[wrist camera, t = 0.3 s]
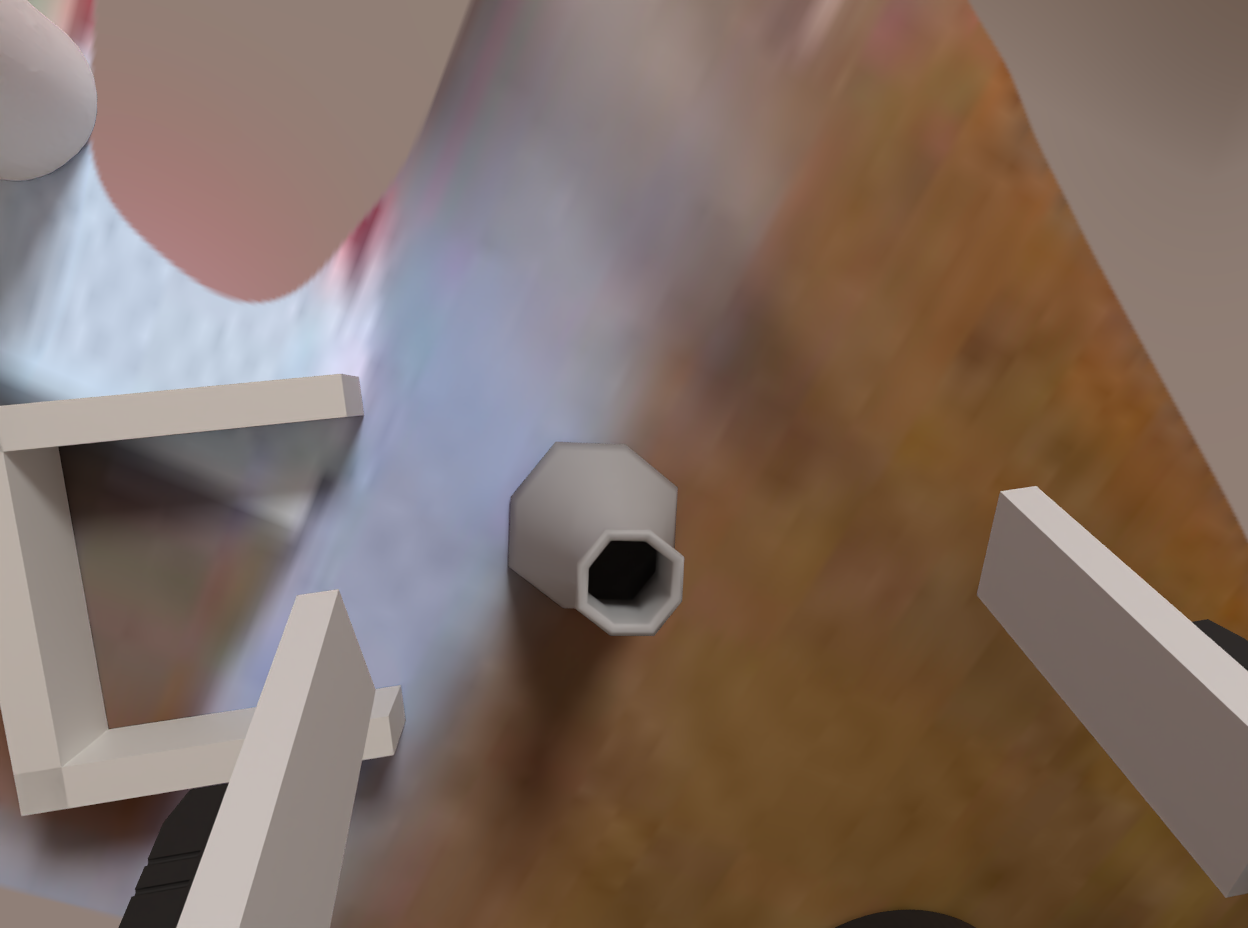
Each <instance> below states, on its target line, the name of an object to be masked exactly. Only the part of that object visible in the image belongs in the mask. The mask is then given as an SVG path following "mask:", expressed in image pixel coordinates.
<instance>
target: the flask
mask: <svg viewBox="0 0 1248 928" xmlns="http://www.w3.org/2000/svg"><path fill="white" fill-rule="evenodd" d="M677 491H678V487H676V486H675V485H674V484H673V483H672V482H670V481H669V480H668V479H667V478H665V477H664V476H663V475H662V474H661V473H659V472H658V471H657V470H656V469H655V468H653V467H652V466H651V465H650V464H648V463H647V462H646V461H645V460H644V459H642V458H641V457H640V456H639V455H638V454H636V453H635V452H634V451H633V450H631V449H630V448H629V447H628V446H627V445H625V444H599V443H573V442H555V443H554V444H553V446H552V447H551V448H550V449H549V451H548V452H547V453H546V454H545V455H544V457H543V458H542V459H541V460H540V462H539V463H538V464H537V465H536V466H535V468H534V469H533V470H532V471H531V473H530V474H529V475H528V476H527V478H526V479H525V480H524V481H523V482H522V484H521V485H520V486H519V487H518V489H517V490H516V491H515V492H514V494H513V495H512V496H511V506H510V536H509V566H508V567H510V568H511V569H512V570H514V571H515V572H516V573H517V574H519V575H520V576H521V577H523V578H524V579H525V580H527V581H528V582H529V583H531V584H532V585H533V586H535V587H536V588H537V589H539V590H540V591H541V592H542V593H544V594H545V595H546V596H548V597H549V598H550V599H552V600H553V601H554V602H556V603H557V604H558V605H560V606H561V607H562V608H576V610H578V611H579V612H580V613H581V614H583V615H584V616H585V617H587V618H588V619H589V620H591V621H592V622H593V623H595V624H596V625H597V626H598V627H600V628H601V629H602V630H604V631H605V632H606V633H608V634H609V635H610V636H654V635H655V634H656V633H657V632H658V630H659V629H660V628H661V627H662V625H663V624H664V623H665V622H666V620H667V619H668V618H669V617H670V615H671V614H672V613H673V612H674V610H675V609H676V608H677V607H678V605H679V604H680V603H681V602H682V590H683V571H684V557H683V556H682V555H681V554H680V553H679V552H677V551H676V550H675V530H676V511H677Z"/></svg>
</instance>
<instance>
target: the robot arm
mask: <svg viewBox="0 0 1248 928" xmlns="http://www.w3.org/2000/svg"><path fill="white" fill-rule="evenodd" d="M977 596H978V597H979V598H980V599H981V601H982V602H983V603H984V604H985V605H986V607H987V608H988V609H989V610H990V612H991V613H992V614H993V615H994V616H995V618H996V619H997V620H998V621H999V622H1000V624H1001V625H1002V626H1003V627H1004V629H1005V630H1006V631H1007V632H1008V633H1009V635H1010V636H1011V637H1012V638H1013V640H1014V641H1015V642H1016V643H1017V644H1018V646H1019V647H1020V648H1021V649H1022V650H1023V652H1024V653H1025V654H1026V655H1027V657H1028V658H1029V659H1030V660H1031V661H1032V663H1033V664H1034V665H1035V666H1036V667H1037V669H1038V670H1039V671H1040V672H1041V674H1042V675H1043V676H1044V677H1045V678H1046V680H1047V681H1048V682H1049V683H1050V684H1051V686H1052V687H1053V688H1054V689H1055V691H1056V692H1057V693H1058V694H1059V695H1060V697H1061V698H1062V699H1063V700H1064V701H1065V703H1066V704H1067V705H1068V706H1069V708H1070V709H1071V710H1072V711H1073V712H1074V714H1075V715H1076V716H1077V717H1078V718H1079V720H1080V721H1081V722H1082V723H1083V725H1084V726H1085V727H1086V728H1087V729H1088V731H1089V732H1090V733H1091V734H1092V735H1093V737H1094V738H1095V739H1096V740H1097V742H1098V743H1099V744H1100V745H1101V746H1102V748H1103V749H1104V750H1105V751H1106V752H1107V754H1108V755H1109V756H1110V757H1111V759H1112V760H1113V761H1114V762H1115V763H1116V765H1117V766H1118V767H1119V768H1120V769H1121V771H1122V772H1123V773H1124V774H1125V776H1126V777H1127V778H1128V779H1129V780H1130V782H1131V783H1132V784H1133V785H1134V786H1135V788H1136V789H1137V790H1138V791H1139V793H1140V794H1141V795H1142V796H1143V797H1144V799H1145V800H1146V801H1147V802H1148V804H1149V805H1150V806H1151V807H1152V808H1153V810H1154V811H1155V812H1156V813H1157V814H1158V816H1159V817H1160V818H1161V819H1162V821H1163V822H1164V823H1165V824H1166V825H1167V827H1168V828H1169V829H1170V830H1171V831H1172V833H1173V834H1174V835H1175V836H1176V838H1177V839H1178V840H1179V841H1180V842H1181V844H1182V845H1183V846H1184V847H1185V848H1186V850H1187V851H1188V852H1189V853H1190V855H1191V856H1192V857H1193V858H1194V859H1195V861H1196V862H1197V863H1198V864H1199V865H1200V867H1201V868H1202V869H1203V870H1204V872H1205V873H1206V874H1207V875H1208V876H1209V878H1210V879H1211V880H1212V881H1213V882H1214V884H1215V885H1216V886H1217V887H1218V889H1219V890H1220V891H1221V892H1222V893H1223V895H1224V896H1225V897H1231V896H1236V895H1241V894H1246V893H1248V641H1247V640H1246V639H1244V638H1242V637H1240V636H1238V635H1237V634H1235V633H1233V632H1231V631H1229V630H1227V629H1225V628H1223V627H1221V626H1220V625H1218V624H1216V623H1214V622H1212V621H1210V620H1208V619H1207V620H1201V621H1195V622H1191V621H1190V620H1189V619H1188V618H1186V617H1185V616H1184V615H1183V614H1182V613H1181V612H1180V611H1178V610H1177V609H1176V608H1175V607H1174V606H1173V605H1172V604H1170V603H1169V602H1168V601H1167V600H1166V599H1165V598H1164V597H1162V596H1161V595H1160V594H1159V593H1158V592H1157V591H1155V590H1154V589H1153V588H1152V587H1151V586H1150V585H1149V584H1147V583H1146V582H1145V581H1144V580H1143V579H1142V578H1141V577H1139V576H1138V575H1137V574H1136V573H1135V572H1134V571H1133V570H1131V569H1130V568H1129V567H1128V566H1127V565H1126V564H1125V563H1123V562H1122V561H1121V560H1120V559H1119V558H1118V557H1117V556H1115V555H1114V554H1113V553H1112V552H1111V551H1110V550H1109V549H1107V548H1106V547H1105V546H1104V545H1103V544H1102V543H1101V542H1099V541H1098V540H1097V539H1096V538H1095V537H1094V536H1093V535H1091V534H1090V533H1089V532H1088V531H1087V530H1086V529H1085V528H1083V527H1082V526H1081V525H1080V524H1079V523H1078V522H1077V521H1075V520H1074V519H1073V518H1072V517H1071V516H1070V515H1069V514H1067V513H1066V512H1065V511H1064V510H1063V509H1062V508H1061V507H1059V506H1058V505H1057V504H1056V503H1055V502H1054V501H1053V500H1051V499H1050V498H1049V497H1048V496H1047V495H1046V494H1045V493H1043V492H1042V491H1041V490H1040V489H1039V488H1038V487H1037V486H1034V487H1027V488H1020V489H1014V490H1007V491H1000V495H999V499H998V504H997V508H996V513H995V517H994V521H993V526H992V530H991V535H990V539H989V543H988V548H987V552H986V557H985V561H984V565H983V570H982V574H981V579H980V583H979V587H978V592H977ZM375 691H376V690H375V687H374V684H373V682H372V679H371V676H370V673H369V671H368V668H367V665H366V663H365V660H364V657H363V654H362V652H361V649H360V646H359V644H358V641H357V638H356V635H355V633H354V630H353V627H352V624H351V622H350V619H349V616H348V614H347V611H346V608H345V605H344V603H343V600H342V597H341V595H340V592H339V589H337V590H330V591H324V592H317V593H310V594H303V595H297V597H296V600H295V602H294V605H293V608H292V611H291V613H290V616H289V619H288V622H287V624H286V627H285V630H284V633H283V635H282V638H281V641H280V644H279V646H278V649H277V652H276V655H275V657H274V660H273V663H272V666H271V668H270V671H269V674H268V677H267V679H266V682H265V685H264V688H263V690H262V693H261V696H260V699H259V701H258V704H257V707H256V710H255V712H254V715H253V718H252V721H251V723H250V726H249V729H248V732H247V734H246V737H245V740H244V743H243V746H242V748H241V751H240V754H239V757H238V759H237V762H236V765H235V768H234V770H233V773H232V776H231V779H230V781H229V783H228V784H222V785H216V786H210V787H204V788H198V789H192V790H190V791H189V792H188V793H187V795H186V796H185V797H184V798H183V799H182V801H181V802H180V803H179V804H178V806H177V807H176V808H175V809H174V811H173V812H172V813H171V814H170V815H169V817H168V818H167V819H166V820H165V822H164V823H163V825H162V827H161V829H160V832H159V834H158V837H157V839H156V841H155V844H154V846H153V848H152V851H151V853H150V855H149V858H148V865H147V866H145V867H144V869H143V872H142V874H141V876H140V879H139V881H138V883H137V886H136V888H135V890H136V893H135V896H133V897H131V900H130V902H129V904H128V907H127V909H126V911H125V914H124V916H123V919H122V921H121V923H120V926H119V928H330V924H331V919H332V913H333V908H334V903H335V898H336V893H337V888H338V882H339V877H340V872H341V867H342V862H343V857H344V851H345V846H346V841H347V836H348V831H349V826H350V820H351V815H352V810H353V805H354V800H355V795H356V789H357V784H358V779H359V774H360V769H361V764H362V758H363V753H364V748H365V743H366V738H367V733H368V728H369V722H370V717H371V712H372V707H373V702H374V697H375ZM836 928H975V927H974V926H972V925H970V924H968V923H966V922H964V921H962V920H959V919H957V918H954V917H951V916H948V915H945V914H940V913H936V912H930V911H923V910H895V911H886V912H880V913H875V914H871V915H867V916H864V917H861V918H858V919H854V920H852V921H849V922H847V923H844V924H842V925H840V926H838V927H836Z"/></svg>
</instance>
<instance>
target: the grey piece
mask: <svg viewBox="0 0 1248 928" xmlns="http://www.w3.org/2000/svg"><path fill="white" fill-rule="evenodd" d="M96 115H97V92H96V88H95V82H94V76H93V74H92V71H91V69H90V67H89V64H88V62H87V60H86V59H85V57H84V55H83V54H82V52H81V50H80V49H79V47H78V46H77V45H76V44H75V43H74V41H73V40H72V39H71V38H70V37H69V36H68V35H67V34H66V33H65V32H64V31H63V30H62V29H60V28H59V27H58V26H57V25H56V24H54V23H53V22H52V21H51V20H49V19H48V18H47V17H46V16H45V15H43V14H42V13H41V12H40V11H39V10H37V9H36V8H35V7H33V6H32V5H31V4H30V3H29V2H28V1H27V0H0V179H2V180H11V181H23V180H31V179H34V178H38V177H41V176H44V175H47V174H49V173H52V172H54V171H55V170H56V169H58V168H60V167H61V166H63V165H64V164H65V163H66V162H68V161H69V160H70V159H71V158H73V157H74V156H75V155H76V154H77V153H78V152H79V151H80V149H81V148H82V147H83V146H84V145H85V144H86V142H87V140H88V139H89V137H90V135H91V133H92V130H93V128H94V125H95V121H96Z"/></svg>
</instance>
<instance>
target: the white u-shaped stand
mask: <svg viewBox="0 0 1248 928" xmlns="http://www.w3.org/2000/svg"><path fill="white" fill-rule="evenodd" d="M362 415H364V411H363V404H362V396H361V389H360V382H359V377H356V376H350V375H344V374H335V375H324V376H314V377H303V378H292V379H282V380H271V381H261V382H250V383H239V384H229V385H218V386H207V387H197V388H186V389H176V390H165V391H154V392H144V393H133V394H123V395H112V396H101V397H91V398H80V399H69V400H59V401H48V402H38V403H27V404H16V405H6V406H0V706H1V711H2V716H3V722H4V727H5V732H6V737H7V743H8V748H9V753H10V758H11V763H12V769H13V774H14V779H15V784H16V790H17V795H18V800H19V805H20V810H21V816H26V815H32V814H38V813H44V812H50V811H56V810H62V809H68V808H74V807H80V806H87V805H93V804H99V803H105V802H111V801H117V800H123V799H129V798H135V797H141V796H147V795H154V794H160V793H166V792H172V791H178V790H184V789H190V788H196V787H202V786H208V785H214V784H221V783H227V782H229V781H230V779H231V776H232V773H233V770H234V768H235V765H236V762H237V759H238V757H239V754H240V751H241V748H242V746H243V743H244V740H245V737H246V734H247V732H248V729H249V726H250V723H251V721H252V718H253V715H254V712H255V710H256V707H253V708H247V709H240V710H234V711H227V712H220V713H214V714H207V715H201V716H194V717H188V718H181V719H174V720H168V721H161V722H155V723H148V724H141V725H135V726H128V727H122V728H115V729H108V724H107V719H106V713H105V708H104V702H103V696H102V691H101V685H100V679H99V674H98V668H97V662H96V657H95V651H94V646H93V640H92V634H91V629H90V623H89V617H88V612H87V606H86V600H85V595H84V589H83V584H82V578H81V572H80V567H79V561H78V555H77V550H76V544H75V538H74V533H73V527H72V522H71V516H70V510H69V505H68V499H67V493H66V488H65V482H64V476H63V471H62V465H61V460H60V454H59V448H58V446H68V445H78V444H87V443H97V442H107V441H117V440H127V439H136V438H146V437H156V436H166V435H176V434H185V433H195V432H205V431H215V430H225V429H234V428H244V427H254V426H264V425H274V424H283V423H293V422H303V421H313V420H323V419H332V418H342V417H352V416H362ZM375 690H376V691H375V697H374V702H373V707H372V712H371V717H370V722H369V728H368V733H367V738H366V743H365V748H364V753H363V758H362V760H367V759H373V758H379V757H385V756H391V755H394V753H395V750H396V747H397V744H398V741H399V738H400V736H401V733H402V730H403V727H404V724H405V721H406V719H405V712H404V705H403V697H402V690H401V685H398V686H392V687H385V688H379V689H375Z"/></svg>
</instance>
